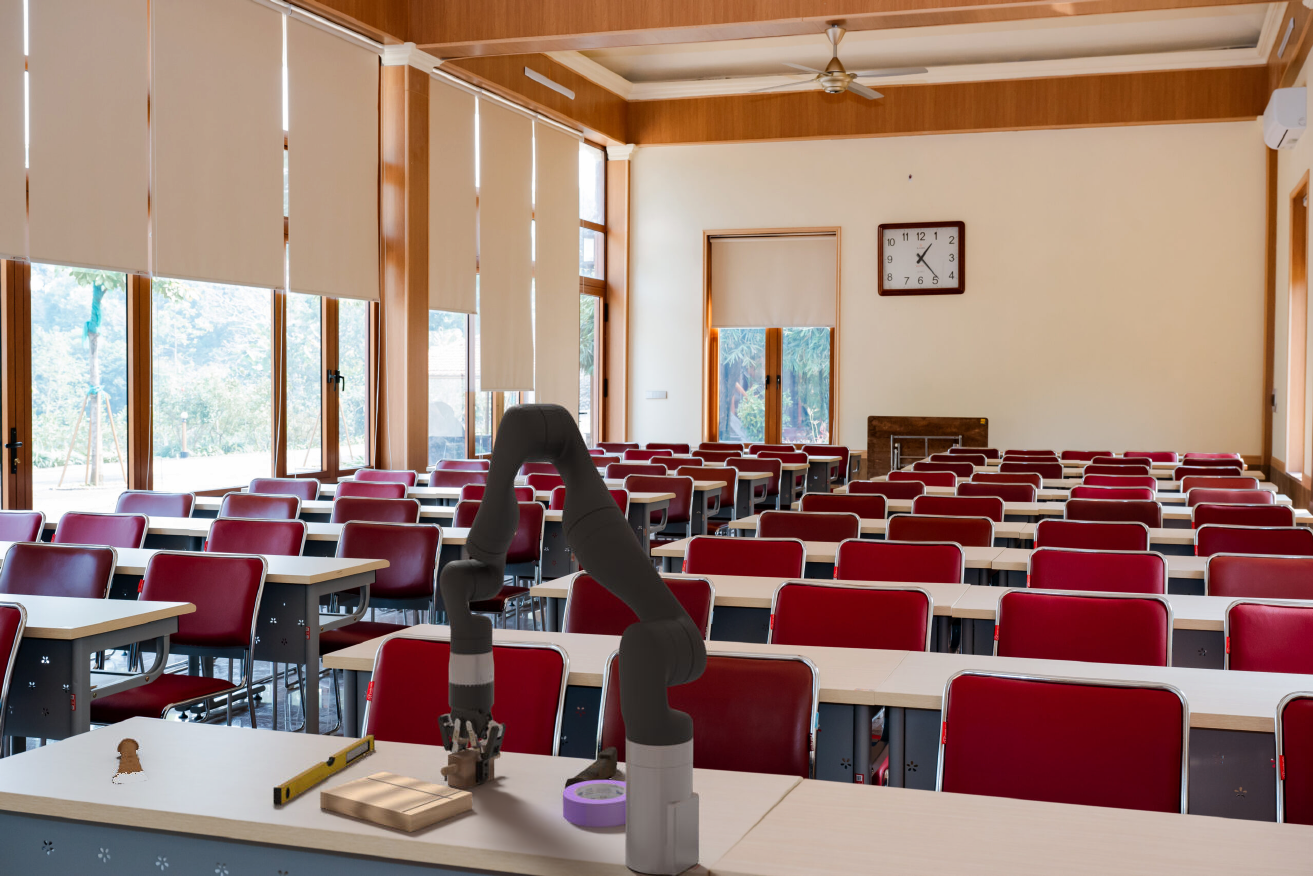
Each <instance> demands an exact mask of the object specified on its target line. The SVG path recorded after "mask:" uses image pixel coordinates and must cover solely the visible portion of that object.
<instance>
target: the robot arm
mask: <svg viewBox="0 0 1313 876" xmlns="http://www.w3.org/2000/svg"><path fill="white" fill-rule="evenodd" d="M493 444H494V445H493V449H492V454H491V457H490V461H489V467H488V471H487V476H486V481H485V482H486V483H485V487H484V491H483V495H482V499H481V502H480V505H479V507H478V511H477V513H476V515H475V517H474V520H473V522H472V524H471V527H470V529H469V532H468V534H467V537H466V539H465V544H464V545H465V550H466V552H467V554H468V555H469V556H470V558H471V559H462V560H461V559H460V560H458V559H457V560H452V561H450V562H448V563H446V564H445V566H444V567H443V569H442V570H441V572H440V576H439V587H440V593H441V597H442V600H443V603H444V606H445V610H446V614H447V619H448V624H449V629H450V635H449V636H450V638H449V639H450V645H449V646H450V647H449V648H450V649H449V650H450V651H449V652H450V653H449V662H448V706H449V707H450V708H451V711H450V713H445V714H442V715H439V716H438V717H437V722H438V726H439V731H440V735H441V739H442V740H441V741H442V744H443V748H444V750H445V752H448V751H449V752H451V754H452V753H455V752H459V751H462V750H465V749H468V747H469V743H470V747H472V748H474V751H475V756H476V760H477V761H476V783H481V784H483V782H484V783H486V782H488V781H487V779H488V777H489V759H490V758H493V757H496V756H498V755H499V752H500V753H501V748H502V744H503V740H504V736H505V734H506V733H505V732H506V729H507V725H506V723H504V722H502V723H500V724H499V723H498V722H497V721H495V720H494V716H493V714H492V707H493V705H494V704H495V662H494V653H493V652H494V651H493V634H494V633H493V622H492V619H491V618H490V617H489V616H487V615H483V614H479V613H472V611H471V610H470V607H469V603H470V602H471V603H472V602H480V601H488V600H491V599H494V598H495V597H496V596H498V594H500V592H501V591H502V590H503V588H504V585H505V584H504V583H505V571H506V570H505V569H506V563H507V562H506V561H507V554H508V550H509V548H511V547H510V546H511V545H512V542H513V540H514V538H515V535H516V533H517V530H518V528H519V523H520V518H521V515H520V514H521V513H520V505H519V501H518V498H517V494H516V491H515V480H516V477H517V475H518V473H519V470H520V469H521V468H522V466H523V464H530V463H531V464H536V463H538V464H540V463H549V464H551V465H552V466H553V467H554V468H555V470H556V472H557V473H558V474H559V476H560V479H561V480H562V482H563V485H564V489H565V494H564V495H565V496H564V501H563V507H562V514H561V528H562V534H563V535H564V538H565V539H566V542H567V545H569V548H570V550H571V551H572V553H573V555H574V557H575V559H576V561H577V562H578V564H579V566H580V567H581V568H582V570H584V572H585V573H586V574H587V575H588V576H589V577H590V578H592V580H594V581H595V582H597V583H598V584H599V585H600V586H602V587H603V588H605V590H607V591H608V592H610V593H612V594H613V595H614V596H615V597H617V599H620V600H621V601H622V602H623V603H624V604H626V605H627V606H628V607H629V608H630V609H631V610H632V611H633V612H634V614H635V615H636V616H637V617H638V619H639V622H634V623H632V624H630V625H629V626H627V627H626V629H625V630H624V631H623V633H622V636H621V638H620V642H619V647H618V676H619V677H618V678H619V680H618V681H619V698H620V700H619V701H620V710H621V716H622V719H623V723H624V726H625V727H624V728H625V782H626V813H625V824H624V825H625V830H624V831H625V849H624V850H625V865H626V866H627V868H630V870H633V871H636V872H639V873H642V874H647V875H648V874H649V875H669V876H677V875H679V874H681V873H682V872H685V871H686V870H688V869H690V868H691V866H692V867H694V866H695V865H696V863H697V864H699V863H698V862H700V795H699V793H698V792H694V791H693V790H694V764H693V763H694V723H693V718H692V717H691V715H690V714H688V713H687V712H683V711H681V710H677V709H675V708H674V709H673V708H671V707H670V706H669V701H668V690H667V688H669V687H670V688H671V687H675V686H680V685H683V684H685V685H686V684H689V683H692V682H694V681H697V680H698V679H699V678H701V676H703V674H704V672H705V670H706V668H707V663H708V662H707V661H708V655H707V653H708V652H707V647H706V645H705V641H704V638H703V635H702V633H701V631H700V630H699V627H698V626H697V624H696V623H695V622H694V620H693V619H692V617H691V616H690V614H689V613H688V612H687V611H686V609H685V608H684V606H683V605H682V604H681V602H680V601H679V599H677V597H676V596H675V594H674V593H673V592H672V591H671V589H670V588H669V586H668V585H667V584H666V583H665V581H664V579H663V578H662V577H661V575H660V573H659V572H658V570H657V569H656V566H655V565H654V564H653V562H652V561H651V559H650V558H649V555H648V554H647V552H646V551H645V549H644V548H643V546H642V544H641V542H640V541H639V539H638V537H637V535H636V533H635V532H634V529H633V528H632V526H631V524H630V522H629V521H628V519H627V517H626V516H625V514H624V513H623V510H621V508H620V506H619V505H618V503H617V501H616V499H615V498H614V496H613V495H612V493H611V492H610V490H609V488H608V486H607V484H606V483H605V481H604V479H603V477H602V475H601V473H600V472H599V470H598V467H597V465H596V464H595V462H594V460H593V458H592V455H591V453H590V450H589V449H588V447H587V445H586V441H585V439H584V438H583V435H582V433H581V431H580V428H579V426H578V424H577V423H576V420H575V418H574V417H573V415H572V414H571V413H570V411H569V410H568V409H567V408H565V407H564V406H563V405H561V404H556V403H515V404H513V405H511V406H509V407H508V408H507V409H506V410H505V412H504V413H503V415H502V417H501V419H500V422H499V425H498V427H497V432H496V435H495V440H494V443H493ZM480 739H481V740H480ZM481 747H482V748H483V753H482V750H481Z"/></svg>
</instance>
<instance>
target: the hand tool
mask: <svg viewBox="0 0 1313 876" xmlns="http://www.w3.org/2000/svg"><path fill="white" fill-rule="evenodd" d="M617 768H618V751H617V747H615V746H609V747H606V748H605V749H603V750H601V751H600V752H598V754H597V759H596V761H594V762H592V763H591V764H590V765H589V766H588V767H586V768H585V769H584V770H582V771H581V772H579V773H578V774H576V775H575V776H573V777H571V778H570V777H569V778H567V779H566V781H565V785H564V790H565V789H566V788H567V787H569V786H571V785H573V784H576V783H580V782H585V781H592V780H608V779H607V778H611V779H613V778H614V777H615V775H616V773H617ZM613 776H614V777H613ZM612 777H613V778H612Z"/></svg>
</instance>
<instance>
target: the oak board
mask: <svg viewBox="0 0 1313 876" xmlns="http://www.w3.org/2000/svg"><path fill="white" fill-rule="evenodd" d="M319 795H320V798H319V799H320V802H319V804H320V808H322V809H324V808H325V809H326V810H328V811H332V812H336V813H339V814H344V815H347V816H349V817H355V818H357V819H361V820H365V821H369V822H373V823H376V824H380V825H385V826H386V827H391V828H394V829H398V830H402V831H405V832H409V833H412V832H415V831H417V830H420V829H423V828H425V827H428V826H430V825H433V824H436V823H438V822H441V821H444V820H447V819H449V818H452V817H454V816H457V815H460V814H463V813H465V812H468V811H470V810H473V793H472V792H470V791H466V790H461V789H457V788H453V787H449V786H445V785H442V784H441V785H440V784H436V783H433V782H429V781H423V780H419V779H415V778H411V777H407V776H404V775H398V774H393V773H390V772H386V771H381V772H378V773H375V774H371V775H369V776H365V777H362V778H358V779H355V780H353V781H349V782H346V783H343V784H340V785H336V786H334V787H333V786H332V787H330V788H327V789H324V790H321V791H320V793H319ZM325 809H324V810H325Z"/></svg>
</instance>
